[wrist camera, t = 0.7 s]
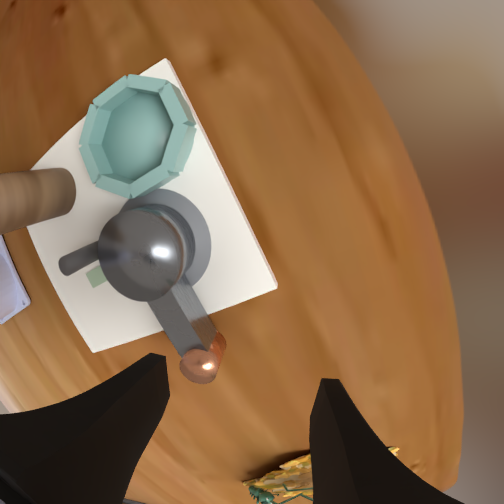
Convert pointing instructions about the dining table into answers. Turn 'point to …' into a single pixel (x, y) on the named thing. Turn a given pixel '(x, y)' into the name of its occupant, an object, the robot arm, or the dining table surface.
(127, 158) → the socket
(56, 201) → the pin
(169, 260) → the grey ball-ended lever
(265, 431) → the dining table surface
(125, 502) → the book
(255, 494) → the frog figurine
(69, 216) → the board
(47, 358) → the dining table surface
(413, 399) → the dining table surface
